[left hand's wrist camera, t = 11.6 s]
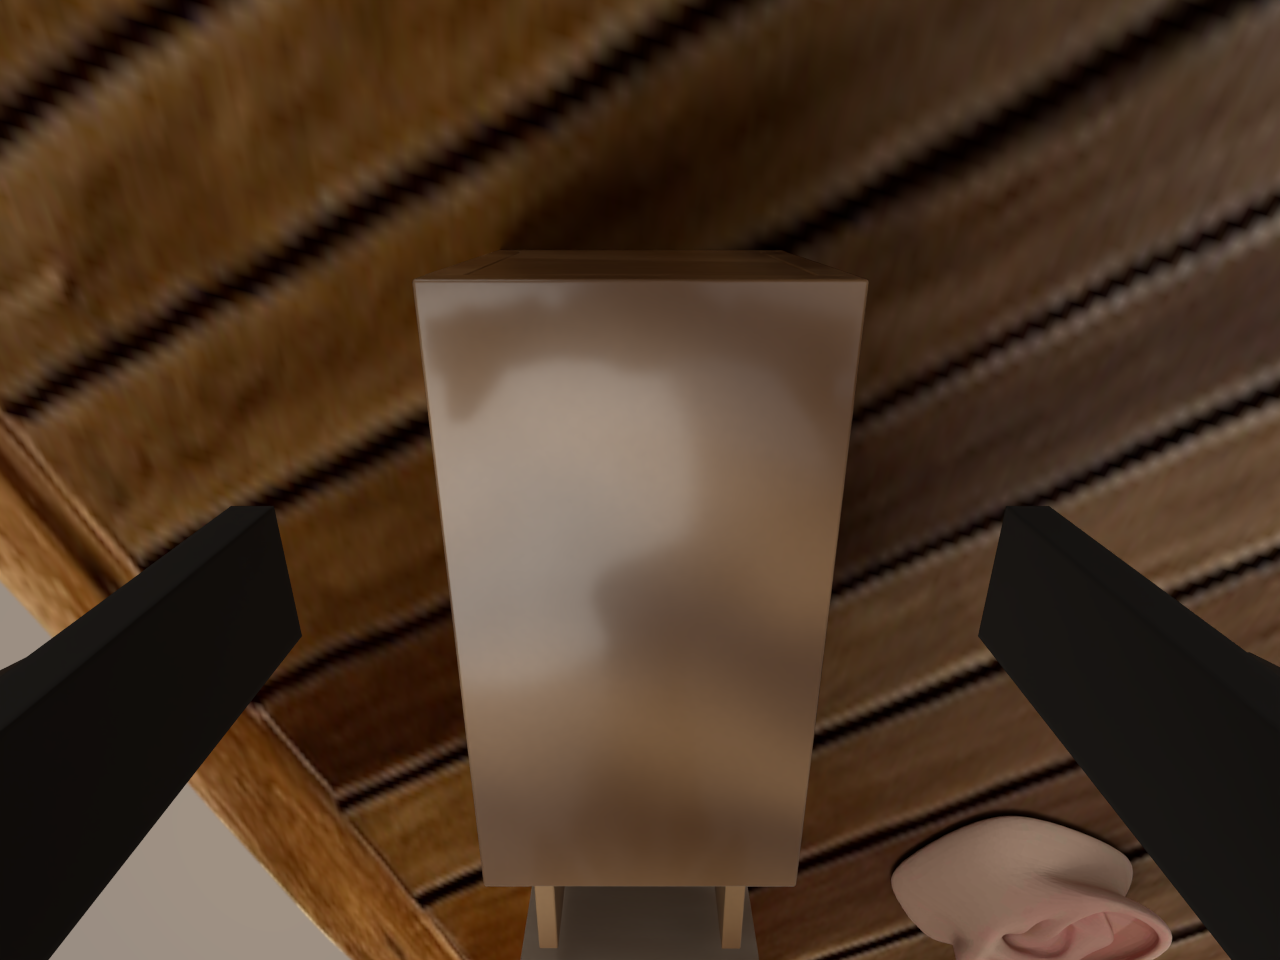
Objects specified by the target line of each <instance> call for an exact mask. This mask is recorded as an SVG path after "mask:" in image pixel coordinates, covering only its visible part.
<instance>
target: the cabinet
mask: <svg viewBox="0 0 1280 960" xmlns="http://www.w3.org/2000/svg"><path fill="white" fill-rule="evenodd" d="M868 284H869V282H868V280H867V279H864V278H861V277H858V276H855V275H853V274H850V273H847V272H844V271H841V270H838V269H835V268H832V267H829V266H826V265H823V264H820V263H817V262H814V261H811V260H808V259H805V258H802V257H799V256H796V255H793V254H790V253H787V252H785V251H782V250H498V251H495V252H492V253H489V254H486V255H483V256H480V257H477V258H474V259H471V260H468V261H465V262H462V263H459V264H456V265H453V266H450V267H447V268H444V269H441V270H438V271H435V272H432V273H429V274H426V275H425V276H422V277H419V278H416V279H414V280H413V290H414V299H415V307H416V316H417V324H418V333H419V341H420V350H421V358H422V366H423V375H424V383H425V392H426V400H427V409H428V417H429V426H430V434H431V442H432V451H433V459H434V468H435V476H436V485H437V493H438V501H439V510H440V518H441V527H442V535H443V544H444V552H445V561H446V569H447V577H448V586H449V594H450V603H451V611H452V620H453V628H454V637H455V645H456V653H457V662H458V670H459V679H460V687H461V696H462V704H463V712H464V721H465V729H466V738H467V746H468V755H469V763H470V772H471V780H472V788H473V797H474V805H475V814H476V822H477V831H478V839H479V848H480V856H481V864H482V873H483V881H484V885H485V886H795V885H796V880H797V872H798V863H799V855H800V847H801V839H802V830H803V822H804V814H805V806H806V797H807V789H808V781H809V772H810V764H811V756H812V748H813V739H814V731H815V723H816V714H817V706H818V698H819V690H820V681H821V673H822V665H823V657H824V648H825V640H826V632H827V623H828V615H829V607H830V599H831V590H832V582H833V574H834V565H835V557H836V549H837V541H838V532H839V524H840V516H841V507H842V499H843V491H844V483H845V474H846V466H847V458H848V450H849V441H850V433H851V425H852V416H853V408H854V400H855V392H856V383H857V375H858V367H859V358H860V350H861V342H862V334H863V325H864V317H865V309H866V301H867V292H868Z"/></svg>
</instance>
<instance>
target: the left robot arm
mask: <svg viewBox="0 0 1280 960" xmlns="http://www.w3.org/2000/svg"><path fill="white" fill-rule="evenodd" d="M301 637H302V634H301V630H300V625H299V620H298V616H297V611H296V607H295V602H294V597H293V593H292V588H291V584H290V579H289V574H288V570H287V565H286V560H285V556H284V551H283V547H282V542H281V537H280V533H279V528H278V524H277V519H276V514H275V510H274V506H231V507H229V508H228V509H227V510H225V511H224V512H222V513H221V514H220V515H218V516H217V517H216V518H214V519H213V520H212V521H210V522H209V523H208V524H206V525H205V526H204V527H202V528H201V529H199V530H198V531H197V532H195V533H194V534H193V535H191V536H190V537H189V538H187V539H186V540H185V541H183V542H182V543H181V544H179V545H178V546H176V547H175V548H174V549H172V550H171V551H170V552H168V553H167V554H166V555H164V556H163V557H162V558H160V559H159V560H158V561H156V562H155V563H153V564H152V565H151V566H149V567H148V568H147V569H145V570H144V571H143V572H141V573H140V574H139V575H137V576H136V577H134V578H133V579H132V580H130V581H129V582H128V583H126V584H125V585H124V586H122V587H121V588H120V589H118V590H117V591H116V592H114V593H113V594H111V595H110V596H109V597H107V598H106V599H105V600H103V601H102V602H101V603H99V604H98V605H97V606H95V607H94V608H93V609H91V610H90V611H88V612H87V613H86V614H84V615H83V616H82V617H80V618H79V619H78V620H76V621H75V622H74V623H72V624H71V625H70V626H68V627H67V628H65V629H64V630H63V631H61V632H60V633H59V634H57V635H56V636H55V637H53V638H52V639H51V640H49V641H48V642H47V643H45V644H44V645H42V646H41V647H40V648H38V649H37V650H36V651H34V652H33V653H32V654H30V655H29V656H28V657H26V658H24V659H22V660H20V661H18V662H16V663H14V664H12V665H10V666H8V667H6V668H4V669H2V670H0V960H49V958H50V957H51V956H52V955H53V953H54V952H55V951H56V950H57V948H58V947H59V946H60V944H61V943H62V942H63V941H64V939H65V938H66V937H67V935H68V934H69V933H70V932H71V930H72V929H73V928H74V927H75V925H76V924H77V923H78V921H79V920H80V919H81V917H82V916H83V915H84V914H85V912H86V911H87V910H88V909H89V907H90V906H91V905H92V904H93V902H94V901H95V900H96V898H97V897H98V896H99V894H100V893H101V892H102V891H103V889H104V888H105V887H106V886H107V884H108V883H109V882H110V880H111V879H112V878H113V877H114V875H115V874H116V873H117V871H118V870H119V869H120V868H121V866H122V865H123V864H124V863H125V861H126V860H127V859H128V857H129V856H130V855H131V854H132V852H133V851H134V850H135V849H136V847H137V846H138V845H139V843H140V842H141V841H142V840H143V838H144V837H145V836H146V834H147V833H148V832H149V831H150V829H151V828H152V827H153V825H154V824H155V823H156V822H157V820H158V819H159V818H160V817H161V815H162V814H163V813H164V811H165V810H166V809H167V808H168V806H169V805H170V804H171V803H172V801H173V800H174V799H175V797H176V796H177V795H178V794H179V792H180V791H181V790H182V789H183V787H184V786H185V785H186V783H187V782H188V781H189V780H190V778H191V777H192V776H193V774H194V773H195V772H196V771H197V769H198V768H199V767H200V766H201V764H202V763H203V762H204V760H205V759H206V758H207V757H208V755H209V754H210V753H211V752H212V750H213V749H214V748H215V746H216V745H217V744H218V743H219V741H220V740H221V739H222V737H223V736H224V735H225V734H226V732H227V731H228V730H229V729H230V727H231V726H232V725H233V723H234V722H235V721H236V720H237V718H238V717H239V716H240V714H241V713H242V712H243V711H244V709H245V708H246V707H247V706H248V704H249V703H250V702H251V700H252V699H253V698H254V697H255V695H256V694H257V693H258V691H259V690H260V689H261V688H262V686H263V685H264V684H265V683H266V681H267V680H268V679H269V677H270V676H271V675H272V674H273V672H274V671H275V670H276V668H277V667H278V666H279V665H280V663H281V662H282V661H283V660H284V658H285V657H286V656H287V654H288V653H289V652H290V651H291V649H292V648H293V647H294V645H295V644H296V643H297V642H298V640H299V639H300V638H301ZM978 637H979V638H980V639H981V640H982V642H983V643H984V644H985V645H986V647H987V648H988V649H989V651H990V652H991V653H992V654H993V656H994V657H995V658H996V660H997V661H998V662H999V663H1000V665H1001V666H1002V667H1003V668H1004V670H1005V671H1006V672H1007V674H1008V675H1009V676H1010V677H1011V679H1012V680H1013V681H1014V683H1015V684H1016V685H1017V686H1018V688H1019V689H1020V690H1021V691H1022V693H1023V694H1024V695H1025V697H1026V698H1027V699H1028V700H1029V702H1030V703H1031V704H1032V706H1033V707H1034V708H1035V709H1036V711H1037V712H1038V713H1039V714H1040V716H1041V717H1042V718H1043V720H1044V721H1045V722H1046V723H1047V725H1048V726H1049V727H1050V729H1051V730H1052V731H1053V732H1054V734H1055V735H1056V736H1057V737H1058V739H1059V740H1060V741H1061V743H1062V744H1063V745H1064V746H1065V748H1066V749H1067V750H1068V752H1069V753H1070V754H1071V755H1072V757H1073V758H1074V759H1075V760H1076V762H1077V763H1078V764H1079V766H1080V767H1081V768H1082V769H1083V771H1084V772H1085V773H1086V774H1087V776H1088V777H1089V778H1090V780H1091V781H1092V782H1093V783H1094V785H1095V786H1096V787H1097V789H1098V790H1099V791H1100V792H1101V794H1102V795H1103V796H1104V797H1105V799H1106V800H1107V801H1108V803H1109V804H1110V805H1111V806H1112V808H1113V809H1114V810H1115V812H1116V813H1117V814H1118V815H1119V817H1120V818H1121V819H1122V820H1123V822H1124V823H1125V824H1126V826H1127V827H1128V828H1129V829H1130V831H1131V832H1132V833H1133V835H1134V836H1135V837H1136V838H1137V840H1138V841H1139V842H1140V843H1141V845H1142V846H1143V847H1144V849H1145V850H1146V851H1147V852H1148V854H1149V855H1150V856H1151V858H1152V859H1153V860H1154V861H1155V863H1156V864H1157V865H1158V866H1159V868H1160V869H1161V870H1162V872H1163V873H1164V874H1165V875H1166V877H1167V878H1168V879H1169V881H1170V882H1171V883H1172V884H1173V886H1174V887H1175V888H1176V889H1177V891H1178V892H1179V893H1180V895H1181V896H1182V897H1183V898H1184V900H1185V901H1186V902H1187V904H1188V905H1189V906H1190V907H1191V909H1192V910H1193V911H1194V912H1195V914H1196V915H1197V916H1198V918H1199V919H1200V920H1201V921H1202V923H1203V924H1204V925H1205V927H1206V928H1207V929H1208V930H1209V932H1210V933H1211V934H1212V935H1213V937H1214V938H1215V939H1216V941H1217V942H1218V943H1219V944H1220V946H1221V947H1222V948H1223V950H1224V951H1225V952H1226V953H1227V955H1228V956H1229V957H1230V958H1231V960H1280V667H1278V666H1276V665H1274V664H1272V663H1270V662H1268V661H1266V660H1264V659H1262V658H1260V657H1258V656H1256V655H1254V654H1252V653H1250V652H1246V651H1244V650H1243V649H1242V648H1240V647H1239V646H1238V645H1236V644H1235V643H1234V642H1232V641H1231V640H1229V639H1228V638H1227V637H1225V636H1224V635H1223V634H1221V633H1220V632H1219V631H1217V630H1216V629H1215V628H1213V627H1212V626H1210V625H1209V624H1208V623H1206V622H1205V621H1204V620H1202V619H1201V618H1200V617H1198V616H1197V615H1196V614H1194V613H1193V612H1192V611H1190V610H1189V609H1187V608H1186V607H1185V606H1183V605H1182V604H1181V603H1179V602H1178V601H1177V600H1175V599H1174V598H1173V597H1171V596H1170V595H1169V594H1167V593H1166V592H1164V591H1163V590H1162V589H1160V588H1159V587H1158V586H1156V585H1155V584H1154V583H1152V582H1151V581H1150V580H1148V579H1147V578H1146V577H1144V576H1143V575H1141V574H1140V573H1139V572H1137V571H1136V570H1135V569H1133V568H1132V567H1131V566H1129V565H1128V564H1127V563H1125V562H1124V561H1122V560H1121V559H1120V558H1118V557H1117V556H1116V555H1114V554H1113V553H1112V552H1110V551H1109V550H1108V549H1106V548H1105V547H1104V546H1102V545H1101V544H1099V543H1098V542H1097V541H1095V540H1094V539H1093V538H1091V537H1090V536H1089V535H1087V534H1086V533H1085V532H1083V531H1082V530H1081V529H1079V528H1078V527H1076V526H1075V525H1074V524H1072V523H1071V522H1070V521H1068V520H1067V519H1066V518H1064V517H1063V516H1062V515H1060V514H1059V513H1058V512H1056V511H1055V510H1053V509H1052V508H1051V507H1049V506H1006V510H1005V514H1004V519H1003V524H1002V528H1001V533H1000V537H999V542H998V547H997V551H996V556H995V560H994V565H993V570H992V574H991V579H990V584H989V588H988V593H987V597H986V602H985V607H984V611H983V616H982V620H981V625H980V630H979V634H978Z"/></svg>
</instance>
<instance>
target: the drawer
mask: <svg viewBox="0 0 1280 960" xmlns="http://www.w3.org/2000/svg"><path fill="white" fill-rule="evenodd" d="M521 960H759V957H758V951H757V944H756V938H755V932H754V925H753V919H752V913H751V906H750V900H749V893H748V887H747V886H532V891H531V897H530V904H529V910H528V916H527V923H526V929H525V935H524V942H523V948H522V954H521Z"/></svg>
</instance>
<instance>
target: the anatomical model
mask: <svg viewBox="0 0 1280 960" xmlns="http://www.w3.org/2000/svg"><path fill="white" fill-rule="evenodd" d="M1132 877H1133V869H1132V865H1131V863H1130V861H1129V859H1128V858H1127V857H1126V856H1125V855H1124V854H1122V853H1121V852H1120V851H1118V850H1116V849H1115V848H1113V847H1112V846H1110V845H1108V844H1106V843H1104V842H1102V841H1100V840H1098V839H1095V838H1093V837H1091V836H1088V835H1086V834H1083V833H1081V832H1078V831H1075V830H1072V829H1070V828H1067V827H1064V826H1061V825H1058V824H1054V823H1051V822H1047V821H1043V820H1039V819H1034V818H1028V817H1020V816H1001V817H994V818H989V819H984V820H981V821H978V822H975V823H972V824H969V825H967V826H964V827H961V828H959V829H957V830H955V831H953V832H950V833H948V834H946V835H944V836H943V837H941V838H939V839H937V840H935V841H933V842H931V843H930V844H928V845H926V846H925V847H923V848H922V849H920V850H918V851H917V852H915V853H914V854H913V855H911V856H910V857H908V858H907V859H906V860H904V861H903V862H902V863H901V864H900V865H899V866H898V867H897V868H896V869H895V871H894V873H893V875H892V878H891V884H892V889H893V891H894V893H895V895H896V898H897V899H898V901H899V903H900V904H901V906H902V907H903V909H904V911H905V912H906V914H907V915H908V916H909V918H910V919H911V920H912V921H913V922H914V923H915V924H916V925H917V926H918V927H919V928H920V929H921V930H922V931H923V932H924V933H925V934H926V935H928V936H929V937H931V938H932V939H935V940H937V941H940V942H944V943H949V944H952V945H953V947H954V951H955V956H956V960H1153V959H1155V958H1157V957H1158V956H1160V955H1161V954H1162V953H1163V952H1165V951H1166V950H1167V949H1168V947H1169V946H1170V944H1171V942H1172V935H1171V931H1170V929H1169V927H1168V926H1167V924H1166V923H1165V922H1164V921H1163V920H1162V919H1161V918H1160V917H1159V916H1158V915H1156V914H1155V913H1154V912H1153V911H1151V910H1150V909H1148V908H1147V907H1145V906H1143V905H1141V904H1140V903H1138V902H1136V901H1133V900H1131V899H1129V898H1127V897H1125V896H1126V894H1127V892H1128V890H1129V888H1130V885H1131V882H1132Z"/></svg>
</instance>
